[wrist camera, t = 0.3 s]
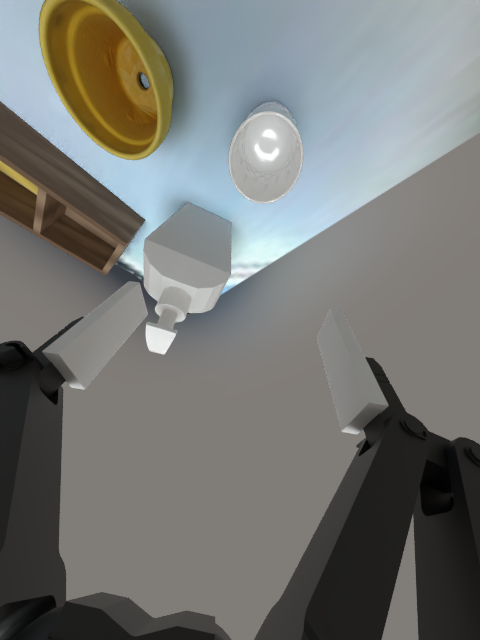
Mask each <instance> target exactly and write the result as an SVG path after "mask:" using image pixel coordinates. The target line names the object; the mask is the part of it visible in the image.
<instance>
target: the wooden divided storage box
mask: <svg viewBox="0 0 480 640" xmlns="http://www.w3.org/2000/svg"><path fill="white" fill-rule="evenodd" d="M0 215H2V216H4V217H6V218H7V219H9V220H11V221H12V222H14V223H16V224H18V225H19V226H21V227H23V228H25V229H26V230H28V231H30V232H31V233H33V234H35V235H37V236H38V237H40V238H42V239H43V240H45V241H47V242H49V243H50V244H52V245H54V246H55V247H57V248H59V249H61V250H62V251H64V252H66V253H67V254H69V255H71V256H73V257H74V258H76V259H78V260H80V261H81V262H83V263H85V264H86V265H88V266H90V267H92V268H93V269H95V270H97V271H98V272H100V273H102V274H104V275H105V276H106V274H107V273H108V272H109V271H110V269H111V268H112V267H113V265H114V264H115V263H116V261H117V260H118V259H119V257H120V256H121V255H122V253H123V252H124V250H125V249H126V248H127V246H128V245H129V243H130V242H131V240H132V239H133V237H134V236H135V234H136V233H137V231H138V230H139V228H140V227H141V226H142V224H143V223H144V221H145V220H144V219H143V218H142V217H141V216H140V215H138V214H137V213H136V212H135V211H133V210H132V209H131V208H130V207H129V206H127V205H126V204H125V203H124V202H122V201H121V200H120V199H119V198H118V197H116V196H115V195H114V194H113V193H111V192H110V191H109V190H108V189H107V188H105V187H104V186H103V185H102V184H100V183H99V182H98V181H97V180H96V179H94V178H93V177H92V176H91V175H89V174H88V173H87V172H86V171H84V170H83V169H82V168H81V167H80V166H78V165H77V164H76V163H75V162H73V161H72V160H71V159H70V158H69V157H67V156H66V155H65V154H64V153H62V152H61V151H60V150H59V149H58V148H56V147H55V146H54V145H53V144H51V143H50V142H49V141H48V140H47V139H45V138H44V137H43V136H42V135H40V134H39V133H38V132H37V131H36V130H34V129H33V128H32V127H31V126H29V125H28V124H27V123H26V122H25V121H23V120H22V119H21V118H20V117H18V116H17V115H16V114H15V113H13V112H12V111H11V110H10V109H9V108H7V107H6V106H5V105H4V104H2V103H1V102H0Z"/></svg>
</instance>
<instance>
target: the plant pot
mask: <svg viewBox="0 0 480 640" xmlns="http://www.w3.org/2000/svg"><path fill="white" fill-rule="evenodd" d="M39 40H40V46H41V51H42V55H43V59H44V63H45V65H46V68H47V71H48V74H49V76H50V79H51V81H52V83H53V85H54V88H55V90H56V92H57V94H58V96H59V97H60V99H61V101H62V103H63V104H64V106H65V107H66V109H67V111H68V112H69V114H70V115H71V116H72V118H73V119H74V120H75V122H76V123H77V124H78V125H79V127H80V128H81V129H82V130H83V131H84V132H85V133H86V134H87V135H88V136H89V137H90V138H91V139H92V140H93V141H94V142H95V143H97V144H98V145H99V146H100V147H102V148H103V149H105V150H106V151H108V152H109V153H111V154H113V155H115V156H117V157H120V158H123V159H128V160H139V159H143V158H145V157H147V156H149V155H150V154H151V153H153V152H154V151H155V150H156V149H157V148H158V147H159V146H160V145H161V143H162V142H163V141H164V139H165V138H166V136H167V133H168V131H169V127H170V123H171V111H172V107H171V106H172V102H173V97H174V85H173V78H172V74H171V70H170V67H169V64H168V62H167V59H166V57H165V55H164V53H163V52H162V50H161V48H160V47H159V45H158V44H157V43H156V42H155V41H154V39H153V38H151V37H150V36H149V35H148V34H147V33H146V32H145V30H144V29H143V27H142V26H141V25H140V24H139V22H138V21H137V20H136V18H135V17H134V16H133V15H132V14H131V13H130V12H129V11H128V10H127V9H126V8H125V7H124V6H123V5H121V4H120V3H119V2H117V1H116V0H45V1H44V3H43V5H42V8H41V11H40V17H39ZM140 73H143V74H145V76H146V77H147V79H148V81H149V88H148V89H145V88H143V87H142V85H141V83H140V81H139V75H140Z"/></svg>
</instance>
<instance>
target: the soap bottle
mask: <svg viewBox="0 0 480 640" xmlns="http://www.w3.org/2000/svg"><path fill="white" fill-rule="evenodd" d="M230 275H231V222H229V221H227V220H225V219H223V218H221V217H219V216H217V215H215V214H213V213H210V212H208V211H206V210H204V209H202V208H200V207H198V206H196V205H194V204H192V203H190V202H188V203H187V204H185V205H184V206H183V207H182V208H181V209H179V210H178V211H177V212H176V213H175V214H174V215H172V216H171V217H170V218H169V219H168V220H167V221H165V222H164V223H163V224H162V225H161V226H159V227H158V228H157V229H156V230H155V231H154V232H152V233H151V234H150V235H149V236H148V237H147V238H145V243H144V287H145V288H146V290H147V292H148V293H149V295H150V296H152V297H153V298H154V299H155V300H157V301H158V303H157V305H156V307H155V311H156V313H157V314H158V315H159V316H160V319H159V321H158V323H157V324H154V323H150V322H147V324H146V341H147V345H148V348H149V350H150V351H153V352H156V353H160V354H165V353H166V351H167V349H168V348H169V346H170V344H171V343H172V341H173V339H174V337H175V335H176V334H177V331H176V330H173V326H174V324H175V322H181V321H183V320H184V319H185V317H186V314H187V312H188V313H203V312H206V311H209V310H211V309H212V308H213V307H214V305H215V304H216V302H217V300H218V298H219V296H220V294H221V292H222V290H223V288H224V286H225V284H226V283H227V281H228V279H229V277H230Z"/></svg>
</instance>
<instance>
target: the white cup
mask: <svg viewBox="0 0 480 640" xmlns="http://www.w3.org/2000/svg"><path fill="white" fill-rule="evenodd" d="M302 163H303V145H302V140H301V137H300V134H299V131H298V128H297V125H296V123H295V120H294V118H293V116H292V115H291V113H290V112H289V110H288V109H287V107H285V106H284V105H282V104H280V103H278V102H277V101H272V102H264V103H262V104H261V105H260V106H258V107H257V108H255V109H254V110H253V111H252V112H251V113H250V114H249V115H248V116H247V118H246V119H245V120H244V122H243V123H242V124H241V126H240V127H239V128H238V130H237V131H236V133H235V135H234V137H233V139H232V142H231V145H230V150H229V171H230V175H231V178H232V181H233V183H234V185H235V187H236V188H237V190H238V191H239V192H240V193H241V194H242V195H243V196H244V197H245V198H247V199H249V200H251V201H253V202H256V203H271V202H274V201H276V200H279V199H280V198H282V197H283V196H285V195H286V194H287V193H288V192H289V191H290V190H291V189H292V187H293V186H294V184H295V183H296V181H297V179H298V177H299V175H300V172H301V168H302Z"/></svg>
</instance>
